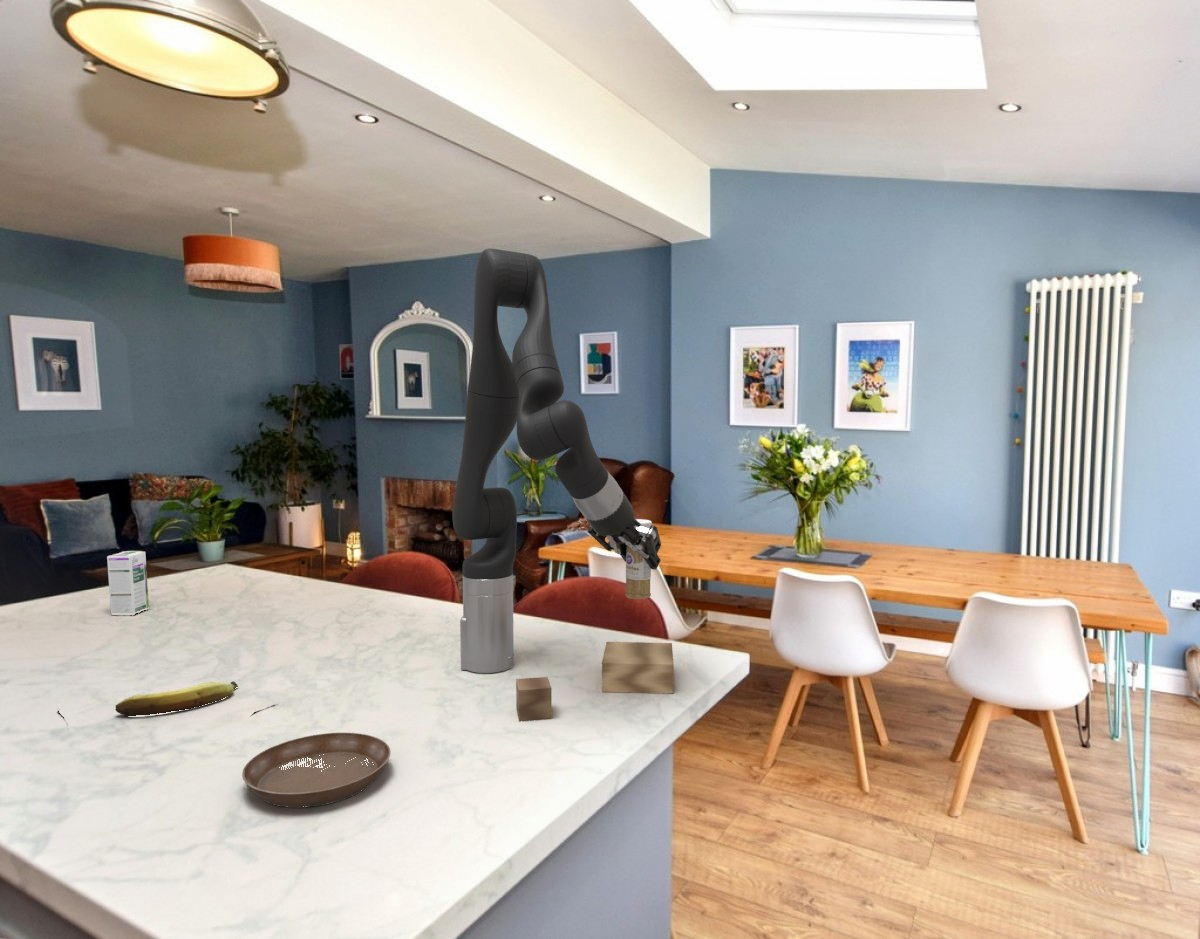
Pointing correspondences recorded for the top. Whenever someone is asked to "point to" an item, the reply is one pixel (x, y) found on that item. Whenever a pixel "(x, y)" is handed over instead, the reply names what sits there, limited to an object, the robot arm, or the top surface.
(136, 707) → the banana
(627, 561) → the sprinkles bottle
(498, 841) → the top surface
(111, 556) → the syrup box
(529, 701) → the walnut cube
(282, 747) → the plant saucer
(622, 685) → the oak block
